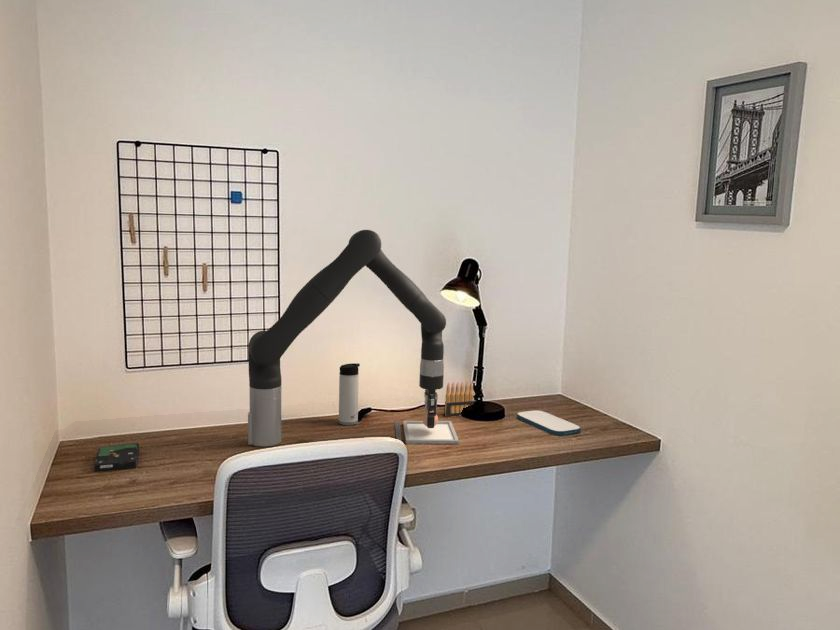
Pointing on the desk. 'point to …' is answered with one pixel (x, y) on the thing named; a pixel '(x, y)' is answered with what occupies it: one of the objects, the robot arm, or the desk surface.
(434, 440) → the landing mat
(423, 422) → the rubber ball
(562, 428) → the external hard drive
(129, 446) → the disk drive
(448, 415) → the ammunition clip
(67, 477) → the desk surface
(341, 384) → the travel mug
